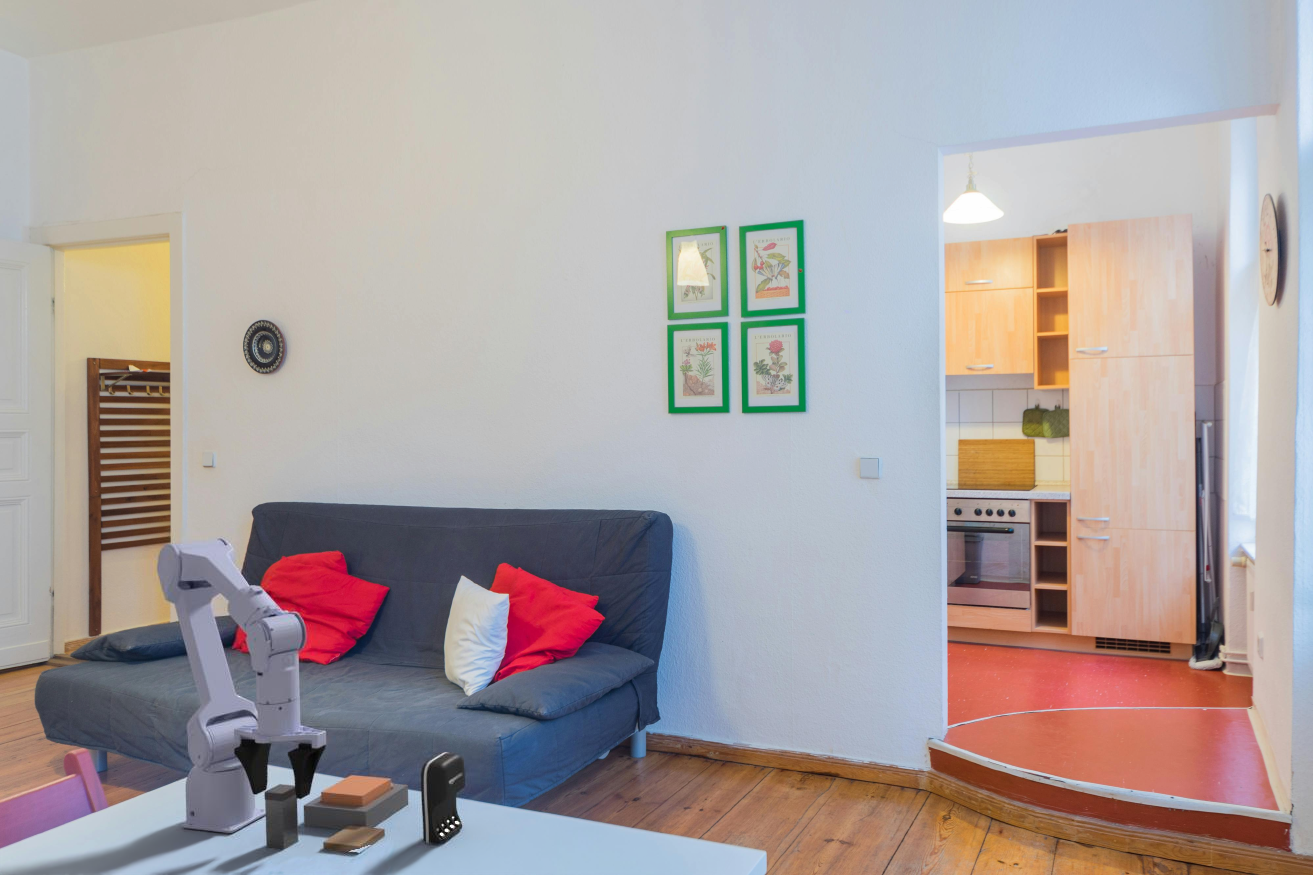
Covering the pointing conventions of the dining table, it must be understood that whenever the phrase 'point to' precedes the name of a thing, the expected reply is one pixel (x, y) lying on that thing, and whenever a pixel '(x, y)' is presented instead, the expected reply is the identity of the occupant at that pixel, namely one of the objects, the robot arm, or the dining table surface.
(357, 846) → the walnut pad
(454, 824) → the battery charger
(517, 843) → the dining table surface
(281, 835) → the grey rectangular block
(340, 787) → the button
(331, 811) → the tray
